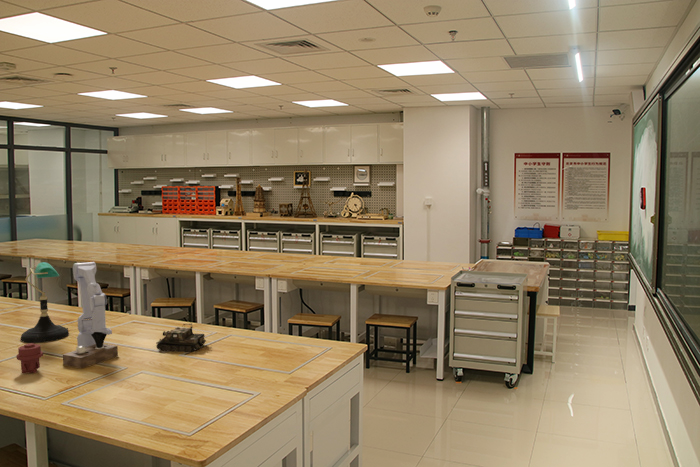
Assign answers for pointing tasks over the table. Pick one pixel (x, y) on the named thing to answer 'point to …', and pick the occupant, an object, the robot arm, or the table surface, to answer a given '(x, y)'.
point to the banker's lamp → (44, 313)
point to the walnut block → (90, 356)
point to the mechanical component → (29, 357)
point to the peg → (81, 350)
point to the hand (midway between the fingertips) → (99, 347)
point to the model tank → (180, 340)
